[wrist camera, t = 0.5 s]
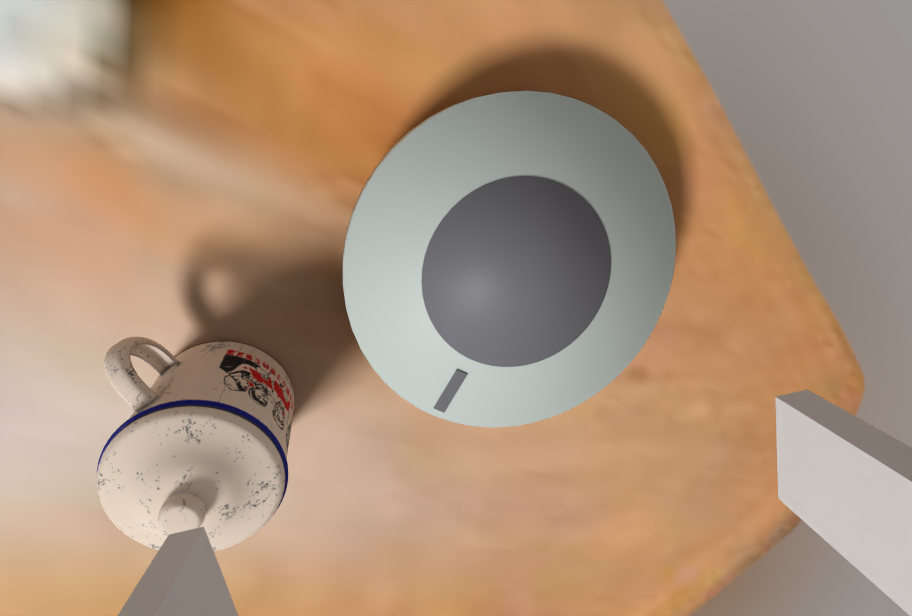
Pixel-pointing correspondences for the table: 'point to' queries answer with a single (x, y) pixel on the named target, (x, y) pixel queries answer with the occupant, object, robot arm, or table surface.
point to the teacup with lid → (196, 442)
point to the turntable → (508, 258)
